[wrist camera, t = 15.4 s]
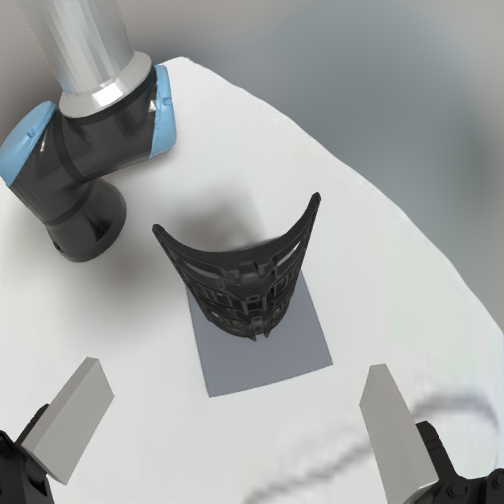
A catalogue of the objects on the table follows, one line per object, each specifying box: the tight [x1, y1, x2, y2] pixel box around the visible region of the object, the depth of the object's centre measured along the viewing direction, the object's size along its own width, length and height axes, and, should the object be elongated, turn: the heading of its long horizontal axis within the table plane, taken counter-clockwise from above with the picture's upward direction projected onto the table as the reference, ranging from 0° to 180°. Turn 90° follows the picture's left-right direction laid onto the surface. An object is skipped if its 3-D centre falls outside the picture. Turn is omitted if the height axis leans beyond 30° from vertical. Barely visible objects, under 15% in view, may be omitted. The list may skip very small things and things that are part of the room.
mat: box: [185, 242, 333, 398], centre depth 34 cm, size 18×15×1 cm
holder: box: [152, 192, 321, 342], centre depth 25 cm, size 11×8×20 cm
